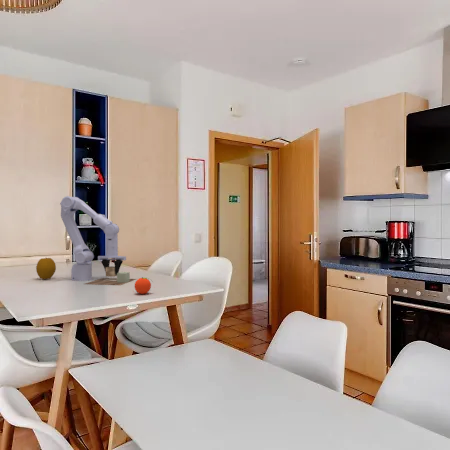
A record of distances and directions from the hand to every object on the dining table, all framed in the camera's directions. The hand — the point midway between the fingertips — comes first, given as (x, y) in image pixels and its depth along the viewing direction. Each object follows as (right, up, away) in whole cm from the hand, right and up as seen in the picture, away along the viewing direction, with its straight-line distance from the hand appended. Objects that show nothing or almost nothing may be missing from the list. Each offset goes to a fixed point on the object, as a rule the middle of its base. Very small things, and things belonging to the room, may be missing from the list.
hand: (112, 274), depth 208 cm
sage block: (+7, -3, -7) cm, 10 cm away
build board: (+1, -4, -5) cm, 7 cm away
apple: (-38, -4, +9) cm, 39 cm away
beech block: (0, -1, 0) cm, 1 cm away
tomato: (+23, -5, -32) cm, 40 cm away
